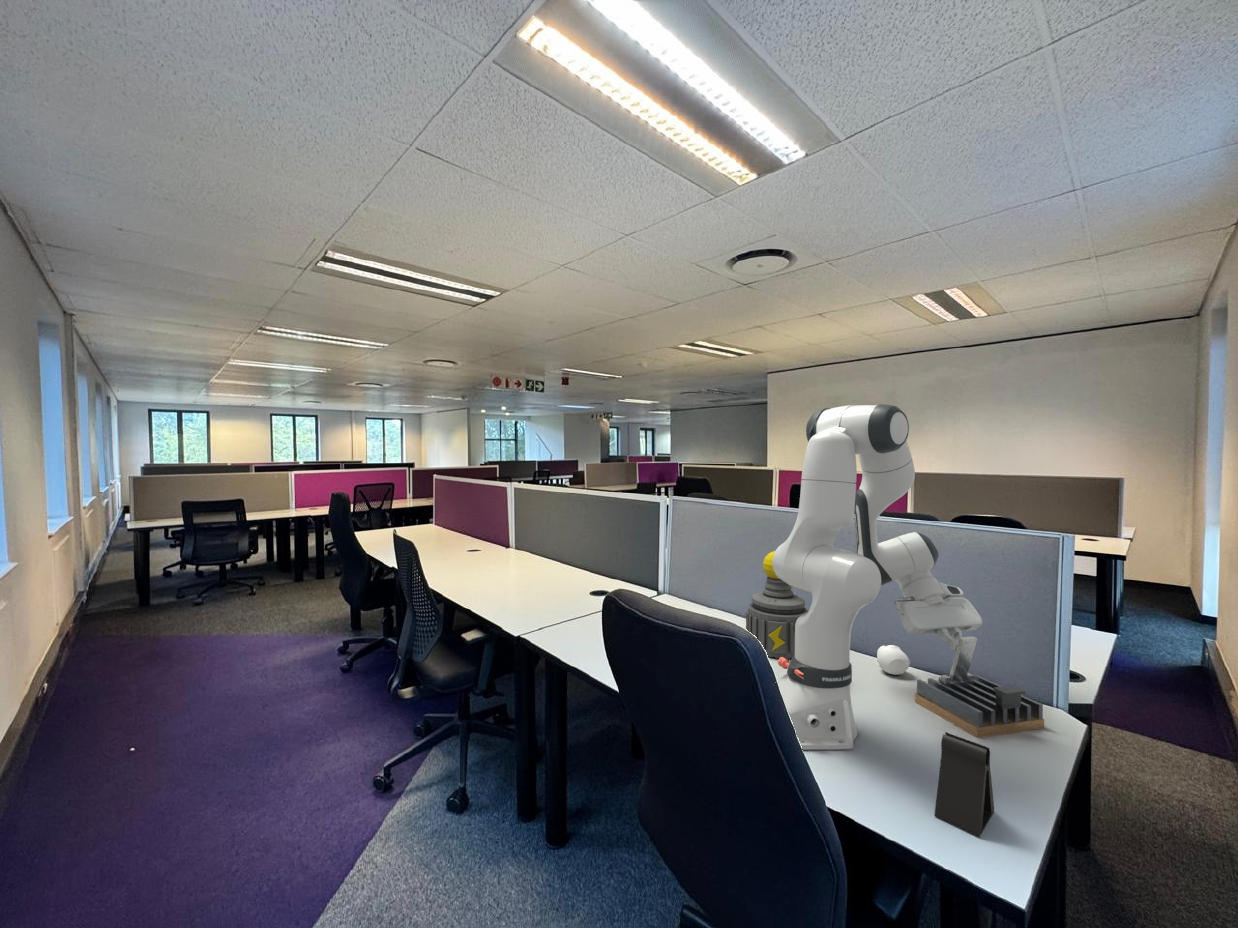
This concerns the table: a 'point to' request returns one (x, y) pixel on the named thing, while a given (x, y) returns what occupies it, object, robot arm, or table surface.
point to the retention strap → (962, 658)
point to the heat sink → (980, 705)
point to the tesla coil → (775, 614)
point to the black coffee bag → (964, 785)
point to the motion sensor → (892, 659)
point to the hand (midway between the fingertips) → (959, 648)
